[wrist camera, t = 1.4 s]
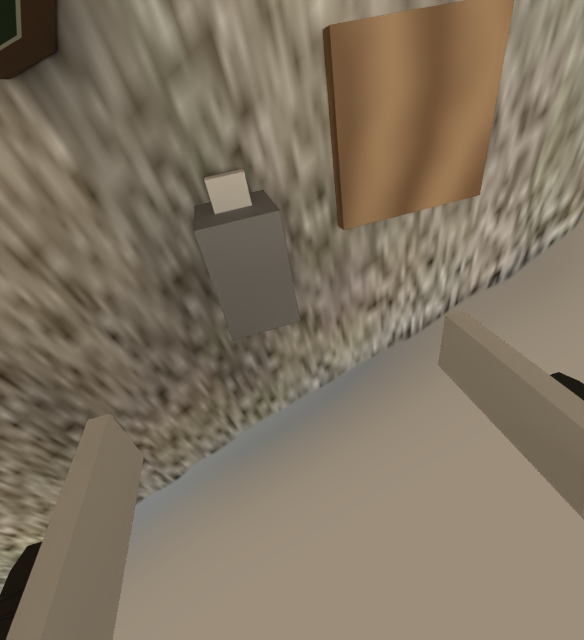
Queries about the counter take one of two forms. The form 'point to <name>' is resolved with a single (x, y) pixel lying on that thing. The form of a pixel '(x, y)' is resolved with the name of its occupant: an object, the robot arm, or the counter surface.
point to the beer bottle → (25, 34)
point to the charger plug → (246, 256)
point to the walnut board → (413, 106)
